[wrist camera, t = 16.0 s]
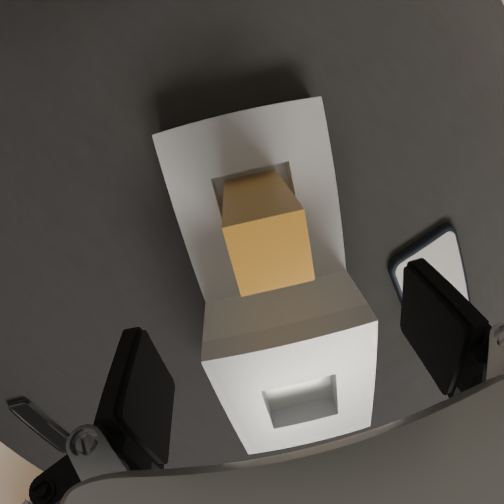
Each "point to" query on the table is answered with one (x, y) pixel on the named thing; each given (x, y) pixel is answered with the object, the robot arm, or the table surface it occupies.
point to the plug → (265, 233)
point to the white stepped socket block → (279, 300)
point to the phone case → (433, 259)
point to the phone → (40, 423)
